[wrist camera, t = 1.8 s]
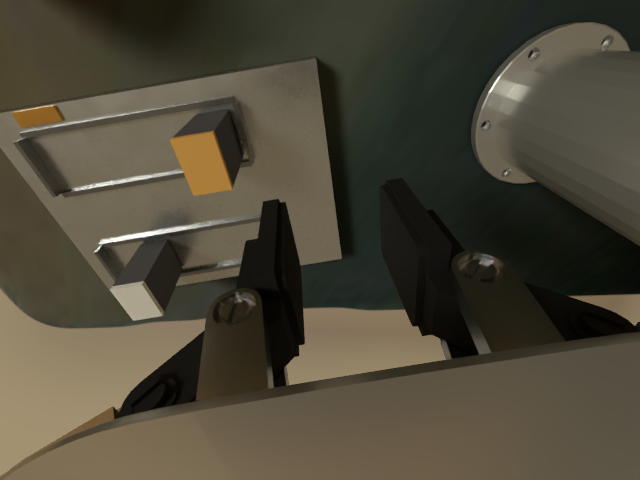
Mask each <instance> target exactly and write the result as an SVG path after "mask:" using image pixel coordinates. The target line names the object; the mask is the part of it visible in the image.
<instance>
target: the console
mask: <svg viewBox="0 0 640 480" xmlns="http://www.w3.org/2000/svg"><path fill="white" fill-rule="evenodd" d="M227 109H229V110H230V113H231V116H232V120H233V123H234V126H235V130H236V133H237V136H238V140H239V143H240V147H241V150H242V153H243V159H242V162H241V165H240V168H239V171H238V174H237V177H236V180H235V183H234V186H233V189H232V190H227V191H221V192H215V193H209V194H203V195H197V196H193V193H192V191H191V189H190V186H189V184H188V182H187V179H186V177H185V175H184V172H183V170H182V168H181V165H180V163H179V161H178V158H177V156H176V154H175V151H174V149H173V147H172V144H171V142H170V139H171V138H172V137H173V136H174V135H175V134H176V133H177V132H178V131H180V130H181V129H182V128H183V127H184V126H185V125H186V124H187V123H188V122H189V121H190V120H191V119H192V118H193V117H194V116H195V115H198V114H204V113H209V112H215V111H221V110H227ZM0 148H1V149H2V150H3V151H4V153H5V154H6V155H7V157H8V158H9V159H10V161H11V162H12V163H13V165H14V166H15V167H16V168H17V170H18V171H19V172H20V174H21V175H22V176H23V178H24V179H25V180H26V182H27V183H28V184H29V185H30V187H31V188H32V189H33V191H34V192H35V193H36V195H37V196H38V197H39V199H40V200H41V201H42V202H43V204H44V205H45V206H46V208H47V209H48V210H49V212H50V213H51V214H52V216H53V217H54V218H55V219H56V221H57V222H58V223H59V225H60V226H61V227H62V229H63V230H64V231H65V233H66V234H67V235H68V236H69V238H70V239H71V240H72V242H73V243H74V244H75V246H76V247H77V248H78V249H79V251H80V252H81V253H82V255H83V256H84V257H85V259H86V260H87V261H88V263H89V264H90V265H91V266H92V268H93V269H94V270H95V272H96V273H97V274H98V276H99V277H100V278H101V280H102V281H103V282H104V283H105V285H106V286H107V287H108V289H109V290H110V289H111V288H112V286H113V285H114V283H115V282H116V280H117V279H118V277H119V276H120V274H121V273H122V271H123V270H124V268H125V267H126V265H127V264H128V262H129V261H130V259H131V258H132V256H133V255H134V253H135V252H136V250H137V249H138V247H139V246H140V245H141V244H144V243H150V242H156V241H162V240H168V242H169V244H170V245H171V247H172V249H173V251H174V253H175V255H176V257H177V259H178V260H179V262H180V264H181V266H182V268H183V270H182V272H181V275H180V277H179V279H178V282H177V284H176V286H179V285H185V284H191V283H197V282H203V281H209V280H215V279H222V278H228V277H234V276H239V271H240V266H241V261H242V256H243V251H244V246H245V242H246V241H247V240H252V239H258V233H259V226H260V219H261V211H262V204H263V201H268V200H274V199H279V200H280V203H281V202H286V205H287V209H288V214H289V218H290V222H291V226H292V231H293V235H294V239H295V243H296V248H297V252H298V256H299V261H300V265H306V264H312V263H318V262H324V261H330V260H336V259H342V256H341V248H340V241H339V233H338V225H337V217H336V209H335V202H334V194H333V186H332V178H331V171H330V163H329V155H328V147H327V139H326V132H325V124H324V116H323V108H322V101H321V93H320V85H319V77H318V70H317V62H316V58H315V56H311V57H305V58H299V59H293V60H288V61H282V62H276V63H270V64H265V65H259V66H253V67H247V68H242V69H236V70H230V71H224V72H219V73H213V74H207V75H201V76H195V77H190V78H184V79H178V80H172V81H167V82H161V83H155V84H149V85H144V86H138V87H132V88H126V89H121V90H115V91H109V92H103V93H97V94H92V95H86V96H80V97H74V98H69V99H63V100H57V101H51V102H46V103H40V104H34V105H28V106H23V107H17V108H11V109H5V110H0ZM111 293H112V292H111ZM112 294H113V293H112Z"/></svg>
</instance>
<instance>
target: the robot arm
mask: <svg viewBox="0 0 640 480" xmlns="http://www.w3.org/2000/svg"><path fill="white" fill-rule="evenodd" d="M482 123H483V124H482ZM471 143H472V148H473V153H474V155H475V157H476V159H477V161H478V163H479V164H480V165H481V166H482V167H483V169H484V170H485V171H487V172H488V173H489V174H491V175H492V176H493V177H495V178H497V179H499V180H501V181H504V182H509V183H519V184H525V183H531V182H538V183H540V184H542V185H543V186H545V187H546V188H548V189H550V190H551V191H553V192H554V193H556V194H557V195H559V196H561V197H562V198H564V199H565V200H567V201H569V202H570V203H572V204H573V205H575V206H577V207H578V208H580V209H581V210H583V211H585V212H586V213H588V214H589V215H591V216H593V217H594V218H596V219H597V220H599V221H601V222H602V223H604V224H605V225H607V226H609V227H610V228H612V229H613V230H615V231H617V232H618V233H620V234H621V235H623V236H624V237H626V238H628V239H629V240H631V241H632V242H634V243H636V244H637V245H639V246H640V52H632V51H630V49H629V46H628V44H627V42H626V40H625V39H624V38H623V37H622V36H621V34H620V33H619V32H618V31H616V30H614V29H612V28H611V27H609V26H607V25H603V24H599V23H594V22H576V23H570V24H564V25H559V26H557V27H554V28H552V29H549V30H546V31H544V32H542V33H540V34H539V35H537V36H535V37H534V38H532V39H530V40H529V41H527V42H526V43H524V44H523V45H522V46H521V47H520V48H518V49H517V50H516V51H515V52H513V53H512V54H511V55H510V56H509V57H508V58H507V59H506V60H505V62H504V63H503V64H502V65H501V66H500V67H499V68H498V69H497V71H496V72H495V73H494V75H493V76H492V78H491V79H490V80H489V82H488V83H487V85H486V87H485V89H484V91H483V93H482V94H481V96H480V98H479V101H478V104H477V106H476V109H475V112H474V116H473V121H472V126H471ZM380 220H381V249H382V254H383V257H384V259H385V262H386V264H387V267H388V269H389V271H390V274H391V276H392V279H393V281H394V283H395V286H396V288H397V291H398V293H399V296H400V298H401V300H402V303H403V305H404V308H405V310H406V312H407V315H408V317H409V320H410V322H411V324H412V326H418V327H419V330H420V332H421V334H422V336H426V335H434V336H436V337H438V338H440V340H441V346H442V349H443V352H444V355H445V358H446V360H442V361H436V362H430V363H424V364H417V365H411V366H405V367H399V368H393V369H386V370H380V371H374V372H368V373H362V374H355V375H349V376H343V377H337V378H331V379H325V380H318V381H313V382H307V383H300V384H295V385H289V382H288V374H287V368H286V365H287V364H288V363H289V362H290V361H291V360H292V359H293V358H294V357H296V356H299V345H303V344H304V343H305V338H304V319H303V300H302V282H301V266H300V261H299V256H298V252H297V248H296V243H295V239H294V235H293V231H292V226H291V222H290V218H289V214H288V209H287V205H286V202H281V203H280V200H279V199H274V200H268V201H263V204H262V211H261V219H260V226H259V233H258V239H252V240H247V241H246V242H245V246H244V251H243V256H242V261H241V266H240V271H239V276H238V282H237V287H236V289H233V290H230V291H228V292H226V293H224V294H222V295H221V296H219V297H218V298H217V299H216V300H215V301H213V303H212V304H211V306H210V307H209V309H208V312H207V315H206V323H205V331H203V332H202V333H201V334H200V335H198V336H197V337H196V338H195V339H194V340H193V341H191V342H190V343H189V344H187V345H186V346H185V347H184V348H182V349H181V350H180V351H179V352H177V353H176V354H175V355H174V356H172V357H171V358H170V359H169V360H167V361H166V362H165V363H164V364H163V365H161V366H160V367H159V368H158V369H156V370H155V371H154V372H153V373H151V374H150V375H149V376H148V377H147V378H145V379H144V380H143V381H142V382H140V383H139V384H138V385H137V386H136V387H135V388H134V389H133V390H132V391H131V392H130V394H129V395H128V396H127V398H126V399H125V401H124V403H123V405H122V407H121V408H119V409H118V410H116V409H115V408H114V407H111V408H110V409H108V410H106V411H105V412H103V413H101V414H99V415H98V416H96V417H94V418H93V419H91V420H89V421H88V422H86V423H84V424H83V425H81V426H79V427H78V428H76V429H74V430H73V431H71V432H69V433H67V434H66V435H64V436H62V437H61V438H59V439H57V440H56V441H54V442H52V443H51V444H49V445H47V446H46V447H44V448H42V449H41V450H39V451H37V452H35V453H34V454H32V455H30V456H29V457H27V458H25V459H24V460H22V461H21V462H20V463H18V464H17V465H15V466H14V467H13V468H11V469H10V470H9V471H8V472H6V473H5V474H3V475H2V476H0V480H640V322H638V323H637V324H636V326H634V325H633V324H632V323H630V322H629V321H628V320H627V319H625V318H623V317H622V316H620V315H618V314H617V313H615V312H612V311H610V310H607V309H605V308H602V307H599V306H596V305H593V304H590V303H587V302H583V301H580V300H577V299H574V298H571V297H568V296H565V295H562V294H559V293H556V292H552V291H549V290H546V289H543V288H540V287H537V286H534V285H531V284H528V283H525V282H523V281H522V279H521V278H520V276H519V275H518V274H517V272H516V271H515V269H514V268H513V267H512V265H511V264H510V263H509V262H508V261H507V260H506V259H504V258H503V257H501V256H499V255H497V254H495V253H492V252H489V251H483V250H468V251H465V250H464V249H463V248H462V246H461V245H460V244H459V242H458V241H457V240H456V239H455V237H454V236H453V235H452V234H451V232H450V231H449V230H448V228H447V227H446V226H445V225H444V223H443V222H442V221H441V220H440V218H439V217H438V216H437V214H436V213H435V212H434V211H433V210H426V209H425V208H424V206H423V205H422V204H421V202H420V201H419V200H418V198H417V197H416V196H415V194H414V193H413V192H412V190H411V189H410V188H409V186H408V185H407V184H406V182H405V181H404V180H403V179H402V178H399V179H393V180H387V181H385V185H382V186H380Z"/></svg>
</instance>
